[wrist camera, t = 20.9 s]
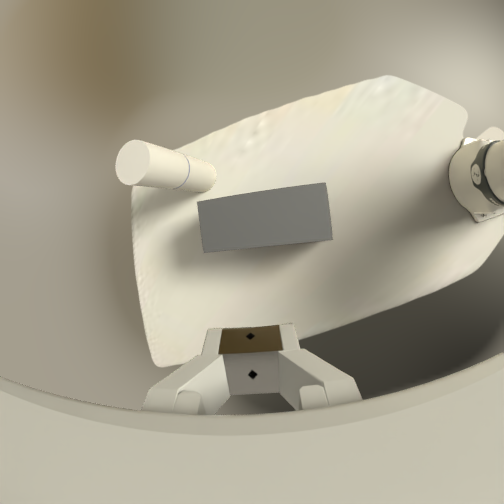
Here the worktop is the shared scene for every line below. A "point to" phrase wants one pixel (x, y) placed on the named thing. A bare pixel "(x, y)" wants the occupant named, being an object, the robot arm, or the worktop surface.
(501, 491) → the robot arm
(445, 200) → the worktop surface
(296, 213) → the control panel
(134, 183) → the cylindrical container
